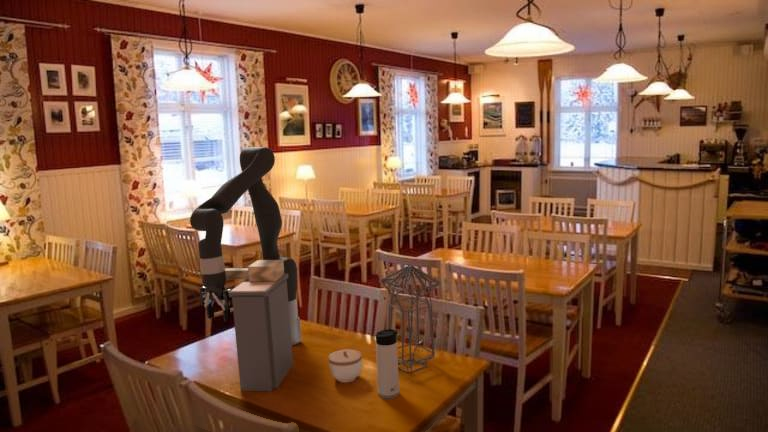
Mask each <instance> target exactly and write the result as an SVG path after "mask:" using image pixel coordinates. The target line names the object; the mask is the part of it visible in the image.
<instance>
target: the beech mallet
mask: <svg viewBox="0 0 768 432" xmlns="http://www.w3.org/2000/svg"><path fill="white" fill-rule="evenodd" d="M225 272H226V280H246V279H249V282H259V281H277V280H278V279H279V278H280V277H282V276H283V275H284V263H283V260H263V259H258V260H256V261H254V262H252V263H251V264H250V265H248V267H241V268H237V267H235V268H233V267H232V268H230V267H229V268H228V267H227V268H226V267H225Z"/></svg>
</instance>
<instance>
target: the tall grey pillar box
mask: <svg viewBox="0 0 768 432" xmlns="http://www.w3.org/2000/svg"><path fill="white" fill-rule="evenodd" d="M287 278H288V273H284V275H283V276H282V277H280V278H279V279H278V280H277V281H259V282H249V279H244V281H242V282H241V283H239V284H238V285H236V286H235V287H233V288H231V289H232V290H231V291H230V292H229V297H232V301H233V307H232V309H233V312H232V313H233V321H234V330H235V331H234V332H235V343H236V352H237V353H236V354H237V364H238V376H239V386H240V391H243V392H244V391H245V392H246V391H247V392H272V391H273V390H274V389H277V388H278V387H279V386H280V384H281V383H282V382H283V380H284V378H285V377H286V375H287V374H288V373H289V371H290V370H291V368H292V367H293V366H294V359H293V347H292V343H291V330H290V317H289V304H288V291H287Z"/></svg>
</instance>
